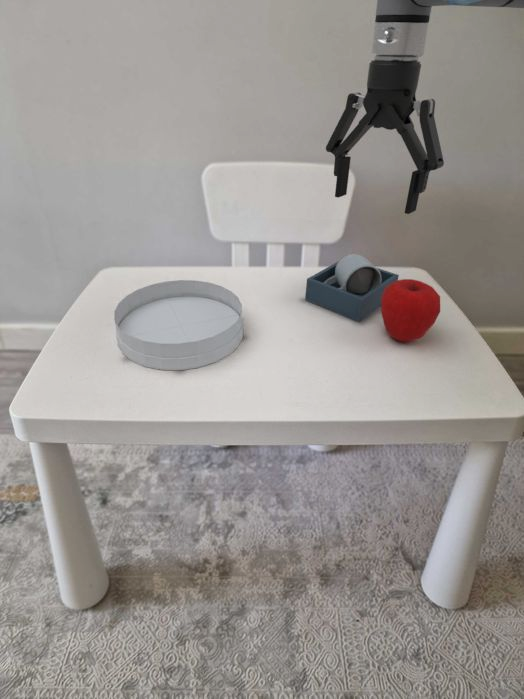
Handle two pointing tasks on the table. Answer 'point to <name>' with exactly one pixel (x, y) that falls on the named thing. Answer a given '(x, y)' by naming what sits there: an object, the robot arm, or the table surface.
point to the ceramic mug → (355, 275)
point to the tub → (345, 295)
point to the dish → (179, 324)
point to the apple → (409, 309)
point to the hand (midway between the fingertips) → (373, 203)
